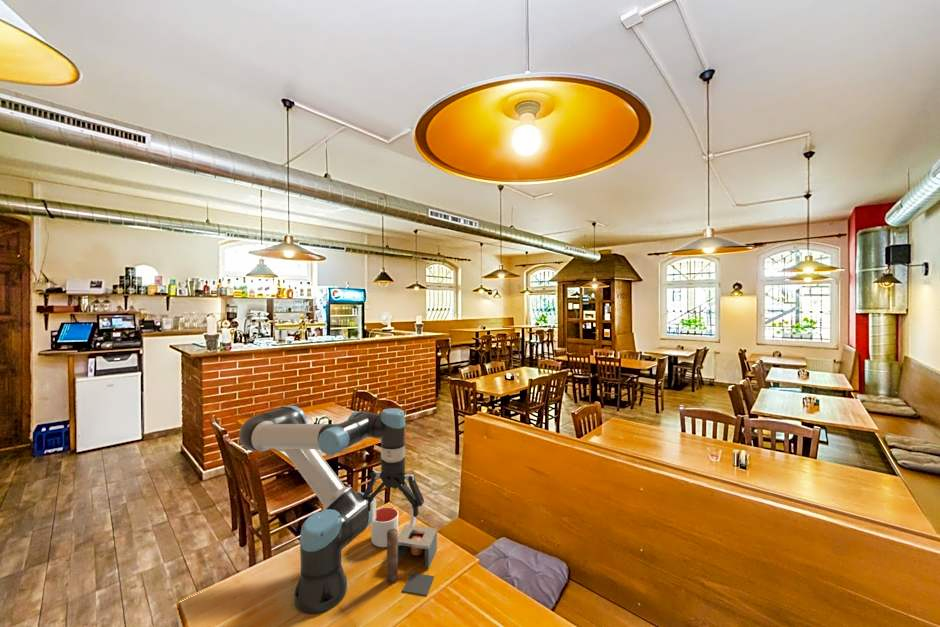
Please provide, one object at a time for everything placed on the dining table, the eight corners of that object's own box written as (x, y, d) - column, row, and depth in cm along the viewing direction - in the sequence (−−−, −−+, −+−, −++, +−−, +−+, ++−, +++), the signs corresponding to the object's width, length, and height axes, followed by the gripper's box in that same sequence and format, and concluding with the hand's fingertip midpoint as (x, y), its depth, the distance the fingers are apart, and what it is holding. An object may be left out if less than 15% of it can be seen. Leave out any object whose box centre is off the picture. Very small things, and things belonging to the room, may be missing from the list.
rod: (385, 583, 121) (385, 534, 121) (389, 575, 125) (389, 528, 124) (395, 584, 121) (395, 535, 120) (399, 577, 124) (399, 529, 123)
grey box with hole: (394, 564, 130) (394, 541, 129) (405, 545, 140) (405, 524, 139) (428, 569, 127) (428, 546, 127) (436, 550, 137) (436, 528, 137)
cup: (403, 537, 144) (403, 512, 144) (384, 552, 136) (384, 525, 135) (384, 529, 149) (384, 504, 149) (365, 542, 141) (365, 516, 141)
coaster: (402, 591, 118) (402, 590, 118) (411, 573, 125) (411, 572, 125) (426, 596, 116) (426, 594, 116) (434, 577, 124) (434, 576, 124)
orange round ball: (409, 554, 132) (409, 541, 132) (413, 547, 136) (413, 535, 136) (419, 555, 131) (419, 543, 131) (423, 548, 135) (423, 536, 135)
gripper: (351, 459, 120) (351, 525, 120) (426, 466, 115) (426, 535, 116) (362, 450, 127) (362, 512, 128) (433, 456, 122) (433, 521, 123)
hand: (393, 523), depth 122 cm, fingers open, 13 cm apart
